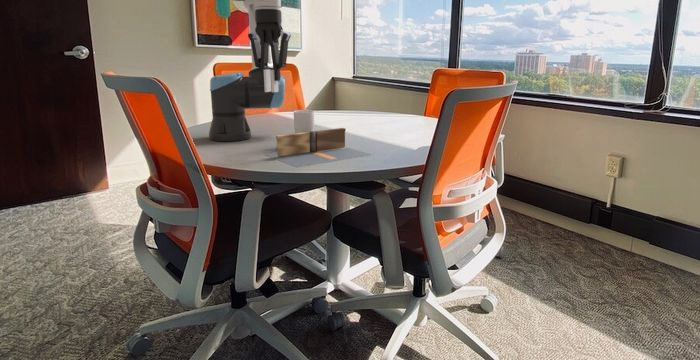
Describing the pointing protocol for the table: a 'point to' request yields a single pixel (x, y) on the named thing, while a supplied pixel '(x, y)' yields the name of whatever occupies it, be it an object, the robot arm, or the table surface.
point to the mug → (303, 121)
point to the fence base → (327, 139)
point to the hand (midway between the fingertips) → (271, 91)
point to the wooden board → (293, 143)
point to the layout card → (318, 156)
